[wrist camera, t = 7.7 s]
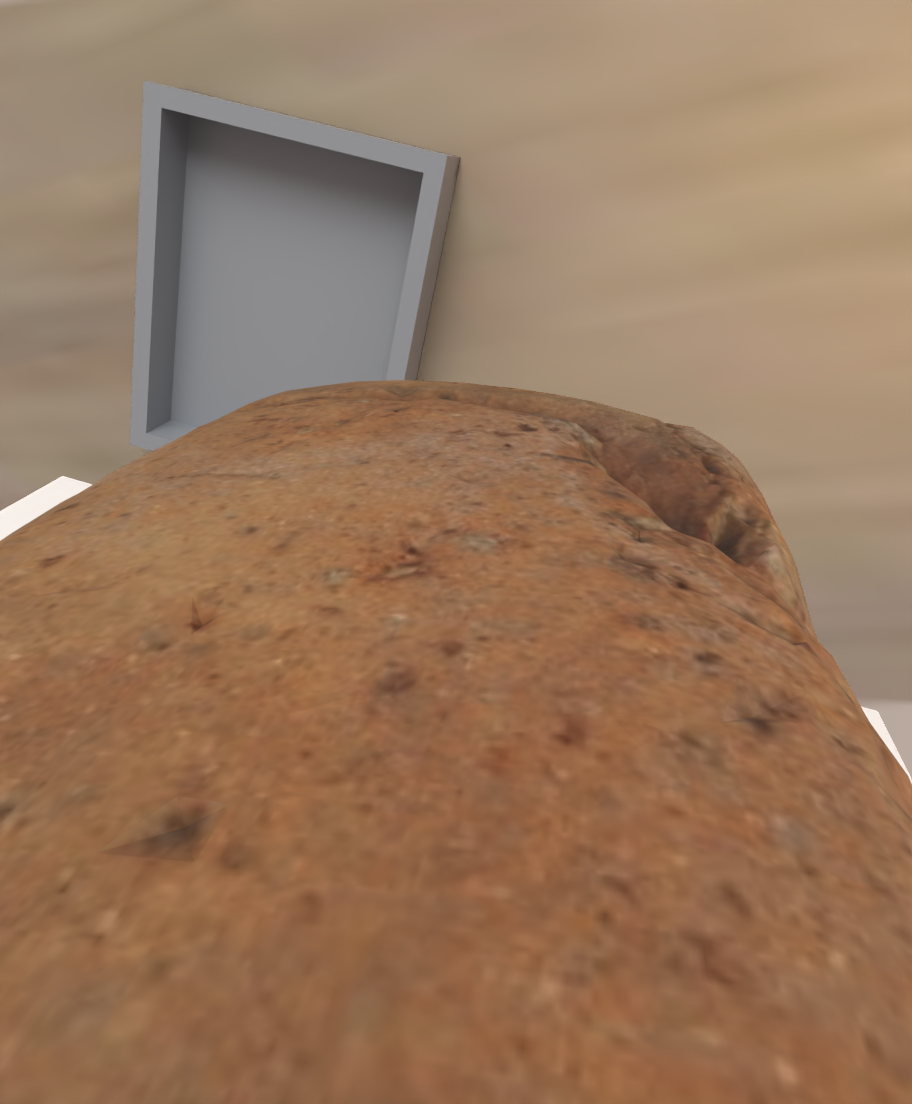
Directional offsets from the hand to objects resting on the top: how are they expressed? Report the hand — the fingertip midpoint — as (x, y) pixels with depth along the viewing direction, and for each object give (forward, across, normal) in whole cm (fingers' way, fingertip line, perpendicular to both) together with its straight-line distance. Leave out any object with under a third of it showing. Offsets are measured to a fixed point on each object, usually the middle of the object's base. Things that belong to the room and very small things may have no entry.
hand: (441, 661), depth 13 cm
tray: (+27, +12, +1) cm, 29 cm away
